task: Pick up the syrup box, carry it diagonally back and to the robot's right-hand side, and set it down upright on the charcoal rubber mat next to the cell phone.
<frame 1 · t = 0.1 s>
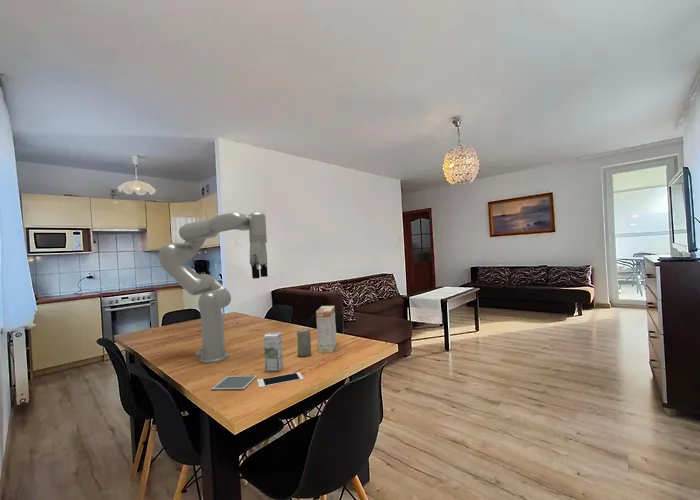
hand: (260, 277, 149), 37 cm above the table, tool pointing down, fingers open, 9 cm apart
syrup box: (274, 369, 133), on the table
carving: (304, 355, 150), on the table
mat: (235, 383, 120), on the table
cell phone: (280, 381, 121), on the table
coffeecake box: (327, 348, 159), on the table
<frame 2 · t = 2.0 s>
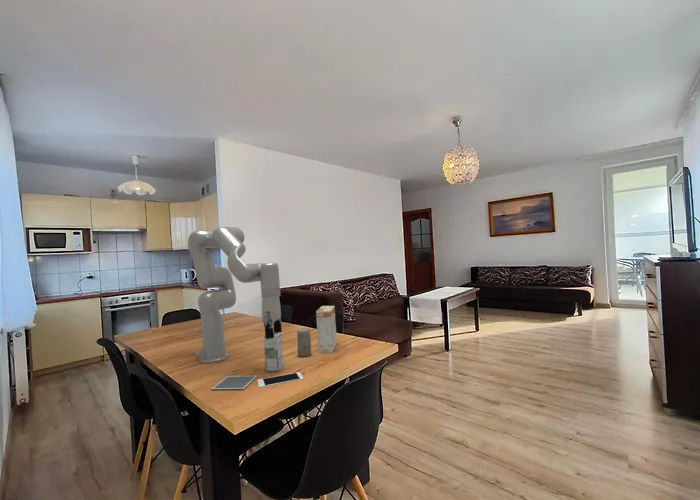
hand: (273, 335, 132), 14 cm above the table, tool pointing down, fingers open, 9 cm apart
nothing on the table moved.
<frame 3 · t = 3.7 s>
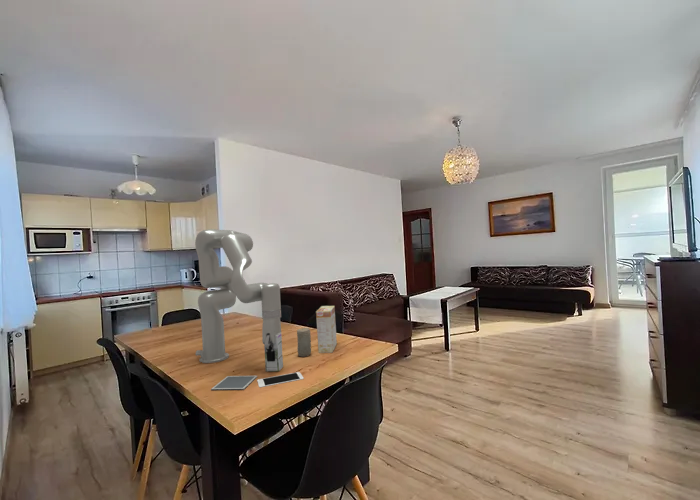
hand: (274, 358, 133), 5 cm above the table, tool pointing down, fingers closed on syrup box, 5 cm apart
syrup box: (274, 369, 133), on the table, touching gripper
everything else where it was.
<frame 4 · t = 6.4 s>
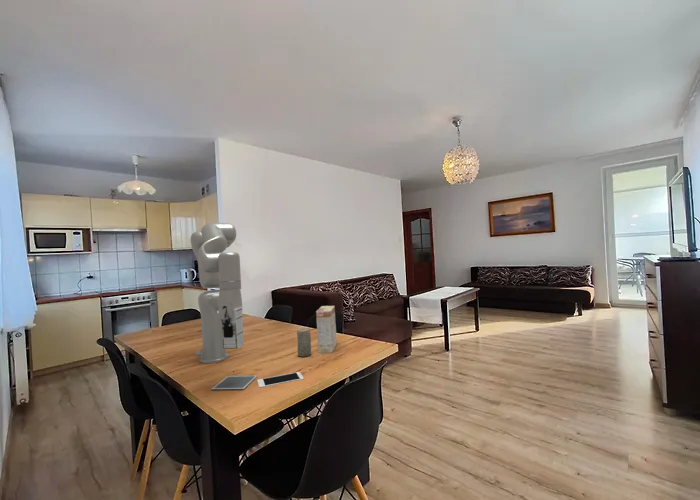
hand: (232, 334, 120), 18 cm above the table, tool pointing down, fingers closed on syrup box, 5 cm apart
syrup box: (233, 347, 120), point 13 cm above the table, touching gripper
everything else where it was.
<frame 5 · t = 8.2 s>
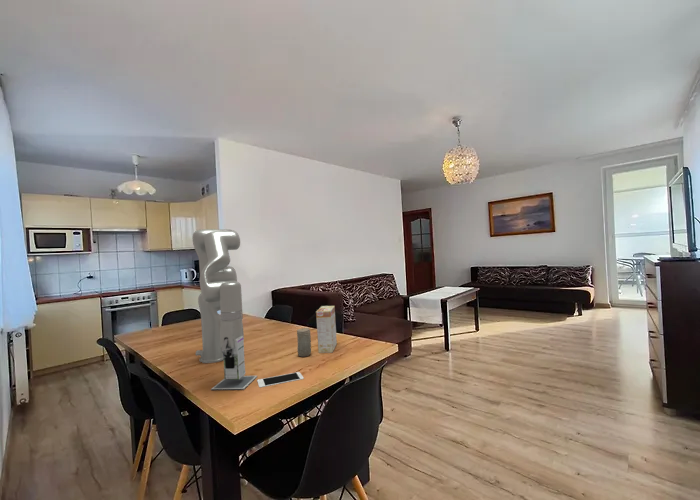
hand: (234, 364, 120), 7 cm above the table, tool pointing down, fingers closed on syrup box, 5 cm apart
syrup box: (235, 377, 120), point 2 cm above the table, touching gripper
everything else where it was.
when the fingers open (6 cm above the table, at t = 9.3 s): syrup box stays where it is, resting on mat.
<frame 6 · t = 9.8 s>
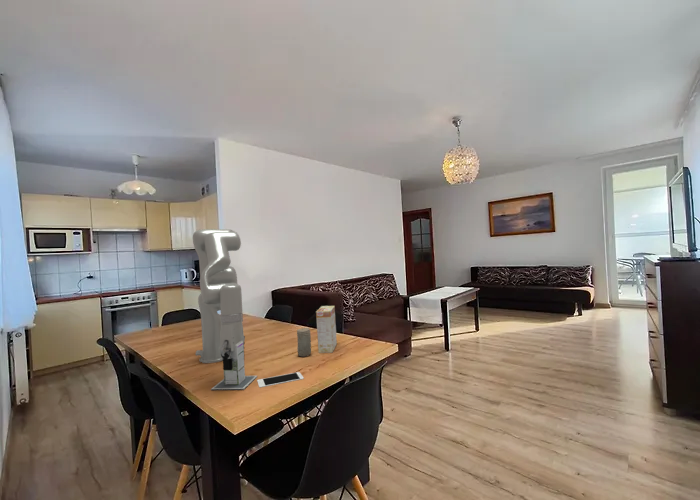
hand: (234, 365, 120), 7 cm above the table, tool pointing down, fingers open, 9 cm apart
syrup box: (234, 382, 120), resting on mat
everything else where it was.
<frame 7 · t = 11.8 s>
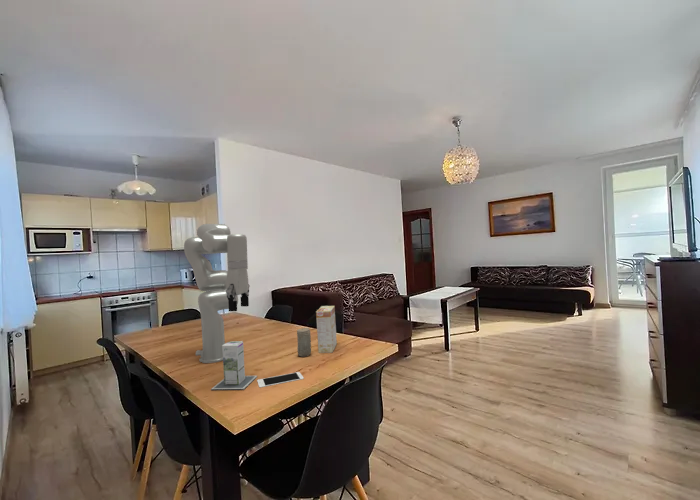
hand: (239, 308, 129), 26 cm above the table, tool pointing down, fingers open, 9 cm apart
nothing on the table moved.
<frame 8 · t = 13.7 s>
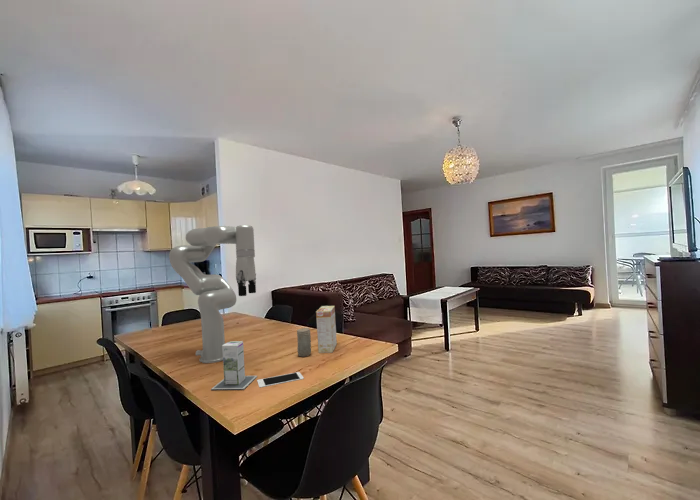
hand: (247, 294, 139), 30 cm above the table, tool pointing down, fingers open, 9 cm apart
nothing on the table moved.
at the end: syrup box inside the target area on the mat (0.1 cm from its centre), point 0.2 cm above the mat's base; syrup box tilted 0°; the gripper is holding nothing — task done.
